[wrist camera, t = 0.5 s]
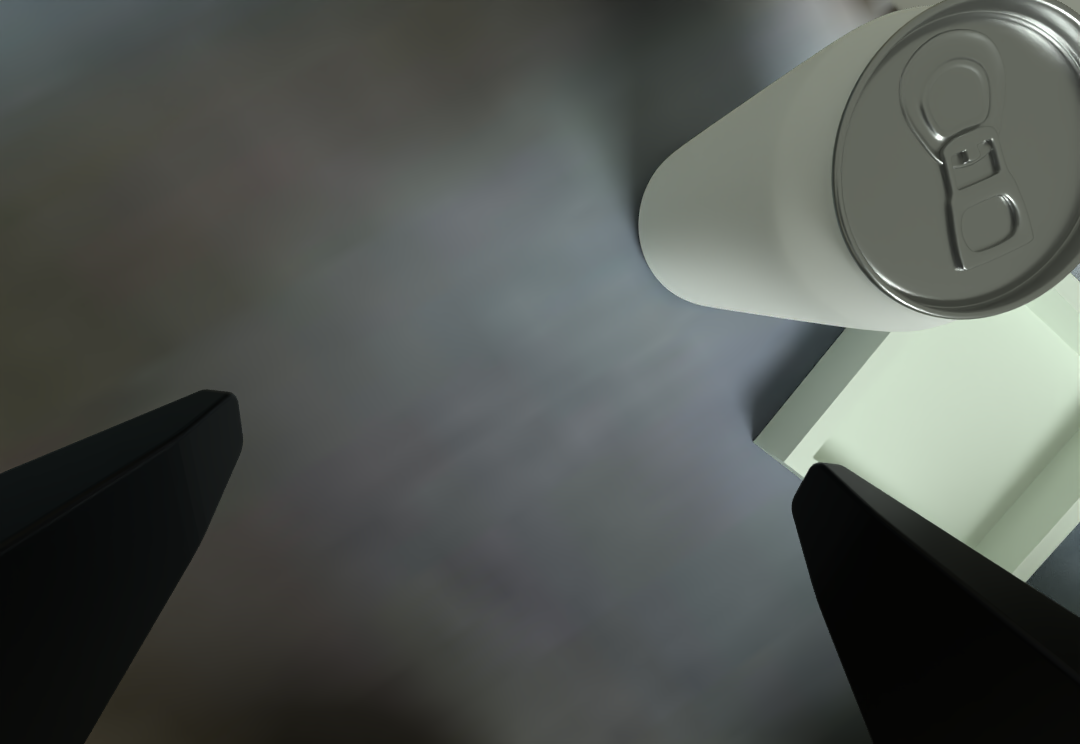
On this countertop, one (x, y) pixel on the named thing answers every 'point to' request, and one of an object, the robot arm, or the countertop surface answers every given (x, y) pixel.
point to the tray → (955, 424)
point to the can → (887, 176)
